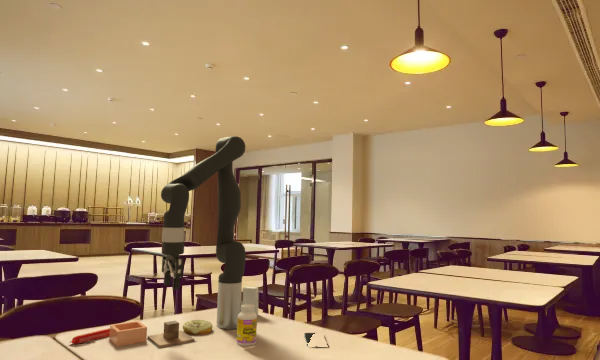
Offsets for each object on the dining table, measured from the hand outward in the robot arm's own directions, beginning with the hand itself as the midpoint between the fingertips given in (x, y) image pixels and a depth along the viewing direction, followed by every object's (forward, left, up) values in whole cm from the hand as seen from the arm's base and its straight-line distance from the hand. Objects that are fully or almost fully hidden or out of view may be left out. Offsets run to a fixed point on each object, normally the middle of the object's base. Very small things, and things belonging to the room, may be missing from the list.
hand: (171, 287), depth 139 cm
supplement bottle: (-21, +17, -18) cm, 33 cm away
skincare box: (-42, -15, -18) cm, 48 cm away
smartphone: (-43, +28, -19) cm, 54 cm away
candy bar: (+20, -16, -19) cm, 32 cm away
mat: (-1, 0, -18) cm, 18 cm away
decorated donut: (-13, -5, -19) cm, 23 cm away
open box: (+11, -8, -18) cm, 23 cm away
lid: (-1, 0, -18) cm, 18 cm away
